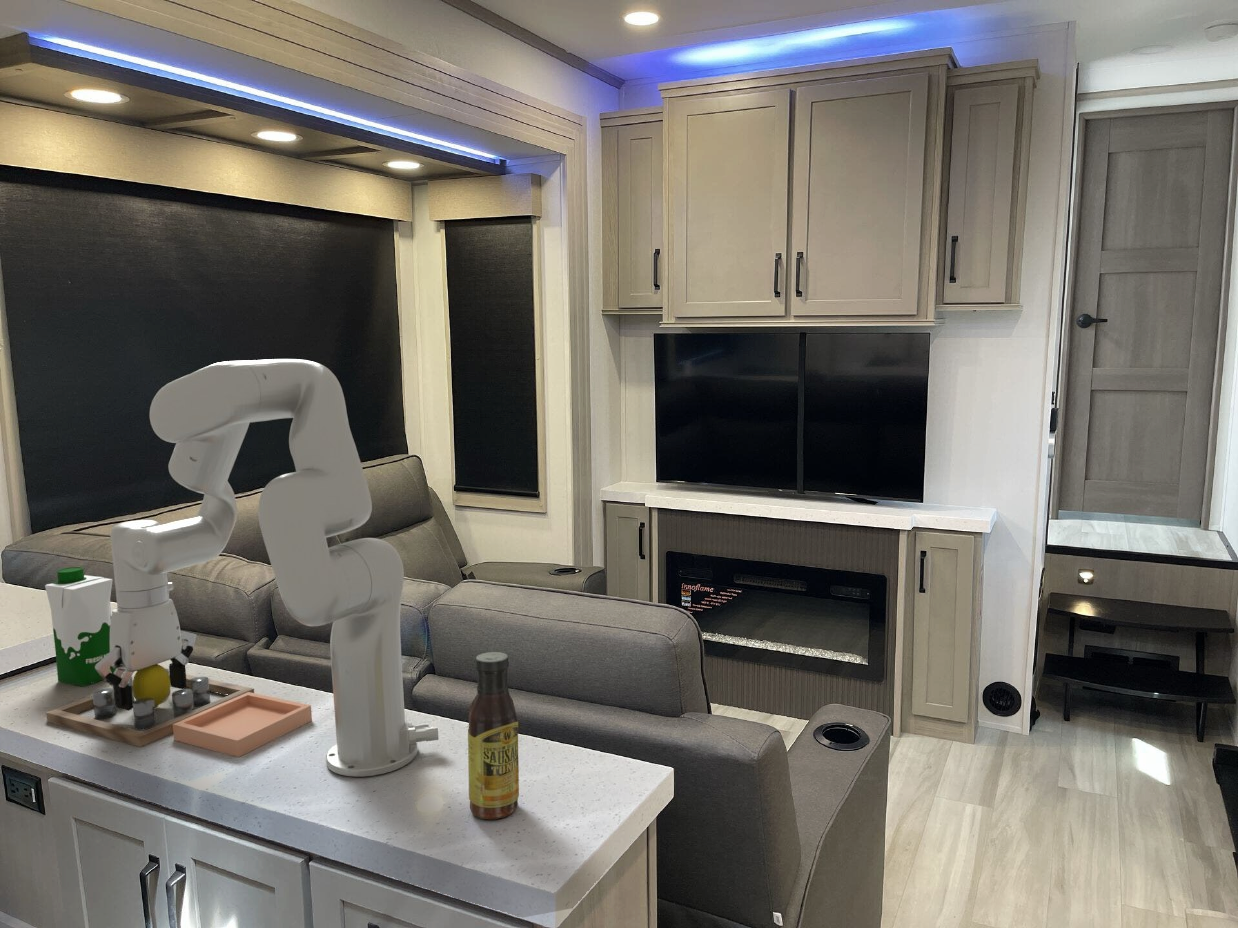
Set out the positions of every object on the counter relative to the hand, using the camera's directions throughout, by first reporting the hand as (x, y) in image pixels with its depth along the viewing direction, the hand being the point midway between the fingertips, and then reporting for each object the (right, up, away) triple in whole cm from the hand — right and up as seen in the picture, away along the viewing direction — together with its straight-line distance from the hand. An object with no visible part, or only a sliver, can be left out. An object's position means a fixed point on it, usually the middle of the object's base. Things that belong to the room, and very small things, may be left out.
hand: (152, 697), depth 148 cm
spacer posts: (0, -2, 0) cm, 2 cm away
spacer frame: (0, -2, 0) cm, 2 cm away
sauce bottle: (+61, -5, -35) cm, 71 cm away
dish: (+19, -3, -9) cm, 21 cm away
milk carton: (-20, -1, +16) cm, 25 cm away
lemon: (0, -2, 0) cm, 2 cm away
